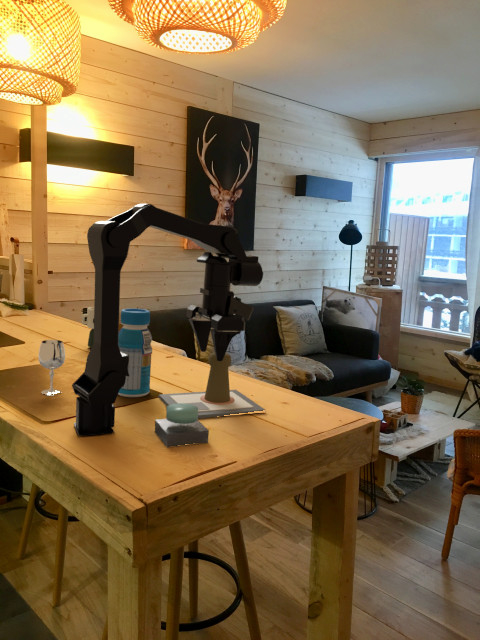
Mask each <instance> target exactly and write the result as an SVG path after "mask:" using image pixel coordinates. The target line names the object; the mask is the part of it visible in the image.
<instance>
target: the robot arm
mask: <svg viewBox="0 0 480 640" xmlns="http://www.w3.org/2000/svg"><path fill="white" fill-rule="evenodd" d="M148 228H152V229H155V230H159V231H161V232H164V233H168V234H172V235H175V236H178V237H181V238H184V239H185V240H186V239H187V240H189V241H191V242H193V243H194V244H196V245H197V246H198V247H200V248H202V249H204V250H206V251H204V252H203V253H202V255H200V256H199V257H198V258H196V262H197V263H202V264H205V265H204V266H205V267H204V278H203V287H200V288H199V293H200V294H202V300H201V301H202V302H201V303H202V304H190V305H189V306H188V307H187V308H186V317H187V318H189V319H188V322H189V323H190V326H191V328H192V331H193V334H194V335H195V338H196V342H197V343H198V347H199V350H200V352H201V353H206V351H207V350H208V345H209V339H210V335H211V339H212V344H213V350H214V352H215V354H216V358H217V361H222V360H223V358H224V356H225V353H227V350H228V348H229V345H230V344H231V341H232V340H233V338H234V337H236V336H237V335H240V334H241V333H242V332H244V331H245V329H246V321H249V320H250V318H251V317H252V313H253V311H254V307H253V306H251V305H249V304H246V303H245V302H242V298H241V297H238V296H236V295H235V292H234V291H232V290H231V285H232V286H235V287H236V286H238V287H257V286H259V285H260V284H261V282H262V280H263V279H264V272H263V267H262V264H261V263H260V262H259V259H260V258H259V256H256V255H247V254H246V250H245V249H244V248H243V245H242V244H241V241H240V238H239V234H238V230H237V229H236V228H234V227H233V226H227V225H226V226H225V225H221V224H220V225H218V224H210V223H209V224H208V223H203V222H199V221H196V220H193V219H191V218H188V217H184V216H183V215H179V214H176V213H174V212H170V211H168V210H165V209H162V208H159V207H156V206H155V205H154V204H151V203H139V204H136V205H134V206H133V207H131V208H130V209H128V210H126V211H124V212H121V213H120V214H117V215H115V216H113V217H111V218H109V219H107V220H99V221H96V222H94V223H93V224H92V225H90V226H89V227H88V230H87V234H86V238H87V244H88V251H89V256H90V258H91V261H92V262H91V263H92V264H93V267H94V300H93V301H94V306H93V307H94V342H93V346H92V348H90V350H89V353H88V354H87V356H86V360H85V361H86V362H85V367H84V372H82V374H81V375H80V376H79V377H77V378H76V380H75V381H74V382H73V383H72V385H71V387H72V390H73V393H74V395H77V396H76V399H75V400H76V402H75V403H76V404H75V405H76V406H75V422H73V426H74V429H75V432H76V433H77V436H79V437H87V436H89V437H90V436H97V435H98V436H99V435H109V434H111V435H112V434H114V429H113V428H115V420H116V419H115V417H116V416H115V415H116V406H115V405H114V404H115V403H116V400H117V398H118V396H119V395H118V393H119V390H120V389H121V388H122V387H123V386H124V385H125V382H126V376H128V377H129V373H128V363H129V356H128V355H126V354H124V353H122V352H120V349H119V345H118V339H119V331H120V327H119V326H120V304H121V303H120V302H121V301H120V300H121V298H120V297H121V296H120V295H121V273H122V272H121V271H122V269H123V267H124V264H125V262H126V260H127V258H128V254H129V250H130V245H131V242H132V241H134V240H135V239H137V238H138V237H140V236H141V235H142V234H143V233H144V232H145V231H146V230H147V229H148ZM213 253H214V254H215V255H213ZM227 260H228V261H227ZM245 320H246V321H245Z"/></svg>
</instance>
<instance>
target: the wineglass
mask: <svg viewBox="0 0 480 640" xmlns="http://www.w3.org/2000/svg"><path fill="white" fill-rule="evenodd" d="M65 360H66V351H65V345H64V342H63V340H60V339H59V340H58V339H46V340H41V343H40V346H39V350H38V363H39V364H40V366H41V367H43V368H45V369H47V370H50V371H49V373H48V374H49V379H50V387H49V388H48V389H44V390H42V391H41V393H42V394H41V393H40V394H41V395H43V394H45V395H44V396H55V395H54V394H57V393H60V391H61V390H60V391H59V389H56V390H55V388H54V386H53V383H54V382H53V381H54V376H55V371H54V370H56V369H58V368H60V367H62V366H63V365H64V364H65ZM52 394H53V395H52Z"/></svg>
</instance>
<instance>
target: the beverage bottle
mask: <svg viewBox="0 0 480 640" xmlns="http://www.w3.org/2000/svg"><path fill="white" fill-rule="evenodd" d="M150 323H151V312H150V310H148V309H144V308H123V309H121V311H120V325H123V326H122V327H121V328H120V329H119V339H118V345H119V349H120V352H122V353H124V354H126V355H128V356H129V363H128V373H129V377H128V376H126V382H125V385H124V386H123V387H122V388H121V389H120V390H119V393H118V396H120V397H124V398H140V397H145V396H147V395H148V394H150V390H151V386H150V385H151V370H152V369H151V368H152V367H151V365H152V355H153V347H152V345H151V343H152V342H153V336H152V334H151V331H150V330H149V328H148V326H150Z"/></svg>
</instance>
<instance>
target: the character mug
mask: <svg viewBox="0 0 480 640" xmlns="http://www.w3.org/2000/svg"><path fill="white" fill-rule="evenodd" d="M86 310H87V311H86V312H87V313H83V314H81V324H82V325H86V326H87V328H89V329H90V331H89V334H88V340H87V347H89V348H90V349H91V348H92V346H93V342H94V306H89V307H87V309H86ZM85 318H86V319H85ZM85 320H86V321H85Z"/></svg>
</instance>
